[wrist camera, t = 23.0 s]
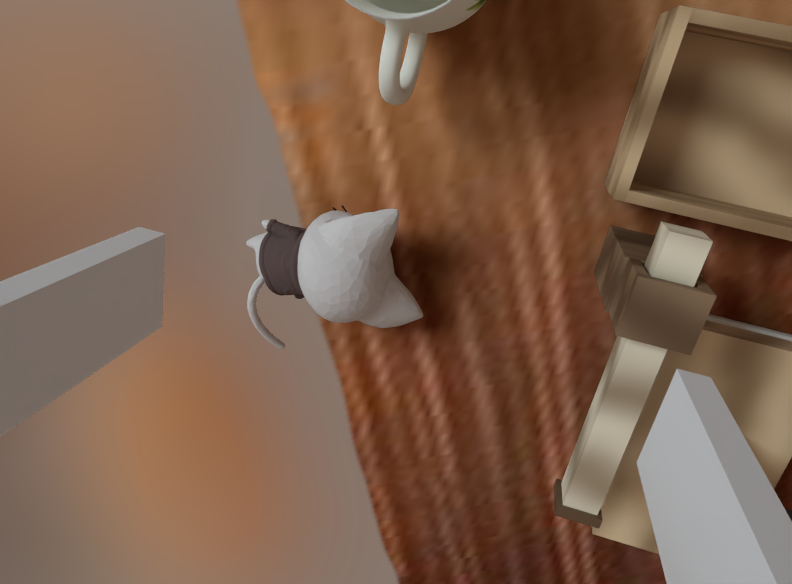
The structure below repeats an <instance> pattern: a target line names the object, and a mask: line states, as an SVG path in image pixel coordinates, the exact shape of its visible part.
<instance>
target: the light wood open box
mask: <svg viewBox="0 0 792 584" xmlns="http://www.w3.org/2000/svg"><path fill="white" fill-rule="evenodd" d="M604 185H605V187H606V188H607V190H608V192H609V194H610V195H611V197H612V199H614V200H619V201H623V202H627V203H631V204H636V205H640V206H644V207H648V208H653V209H657V210H661V211H665V212H670V213H674V214H678V215H682V216H687V217H691V218H695V219H699V220H704V221H708V222H712V223H716V224H721V225H725V226H729V227H733V228H738V229H742V230H746V231H750V232H755V233H759V234H763V235H767V236H772V237H776V238H780V239H784V240H789V241H792V26H787V25H782V24H776V23H771V22H766V21H760V20H755V19H750V18H745V17H739V16H734V15H729V14H723V13H718V12H713V11H708V10H702V9H697V8H692V7H686V6H681V5H679V6H677V7H674V8H672V9H670V10H668V11H666V12H664V13H661V14H660V16H659V19H658V22H657V25H656V28H655V31H654V34H653V37H652V40H651V43H650V46H649V49H648V52H647V55H646V58H645V61H644V64H643V67H642V70H641V73H640V76H639V79H638V82H637V85H636V88H635V91H634V94H633V97H632V100H631V103H630V106H629V109H628V112H627V115H626V118H625V121H624V124H623V127H622V130H621V133H620V136H619V139H618V142H617V145H616V148H615V151H614V154H613V157H612V160H611V163H610V166H609V169H608V172H607V175H606V178H605V181H604ZM654 239H655V236H652V235H648V234H644V233H640V232H636V231H632V230H627V229H623V228H619V227H615V226H611V225H610V228H609V231H608V234H607V237H606V239H605V242H604V245H603V248H602V251H601V254H600V257H599V260H598V262H597V265H596V268H595V271H594V274H595V277H596V281H597V284H598V288H599V291H600V295H601V298H602V302H603V305H604V309H605V311H606V312H609V314H610V317H611V321H612V324H613V327H614V331H615V334H616V336H619V337H623V338H626V339H630V340H634V341H638V342H641V343H645V344H649V345H653V346H657V347H660V348H664V349H668V350H672V351H675V352H679V353H683V354H687V355H690V356H691V354H692V351H693V349H694V347H695V345H696V342H697V340H698V338H699V336H700V333H701V331H702V329H703V326H704V324H705V322H706V320H707V317H708V315H709V313H710V311H711V308H712V306H713V304H714V302H715V299H716V297H717V296H716V294H715V293H714V292H713V291H712V289H711V288H710V287H709V286H708V284H707V283H706V282H705V281H704V279H703V277H704V275H703V274H702V273H701V272H700V274H699V276H698V279H697V281H696V283H695V286H694V287H691V286H687V285H683V284H679V283H675V282H671V281H667V280H664V279H660V278H656V277H652V276H648V274H647V272H646V270H645V268H644V265H645V263H646V260H647V257H648V255H649V252H650V249H651V247H652V244H653V242H654Z"/></svg>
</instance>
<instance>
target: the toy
mask: <svg viewBox="0 0 792 584" xmlns="http://www.w3.org/2000/svg"><path fill="white" fill-rule="evenodd" d="M342 208H343V209H344V210H345V212H344V211H338V210H336V209H335V208H334V207H333V209H334V210H335V211H330V212H327V213H324V214H322V215H320V216H319V217H318V218H316V219H315V220H314V221H313V222H312V223H311V224H310V226H309V227H308V228H307V229H302V228H299V227H293V226H289V225H286V224H283V223H280V222H277V221H276V220H263V221H262V225H263V227H264V228H265V229H267V231H268V232H266V233H264V234H261V235H257V236H255V237H253V238H251V239H250V240H248V241H247V242H246V244H247V246H250V247H252V248H253V249H255V252H256V265H257V269H258V273H259V275H260V276H259V278H258V279H257V280H256V281H255V282H254V283H253V285H252V287H251V289H250V291H249V295H248V303H247V306H248V312H249V316H250V318H251V320H252V322H253V324H254V326H255V327H256V328H257V330H258V331H259V332H260V334H261V335H262V336H263V337H264V338H265V339H267V340H268V341H269V342H270V343H271V344H273V345H274V346H276V347H277V348H279V349H284V347H285V344H284V343H283V342H282V341H280V340H279V339H277V338H276V337H275V336H274V335H273V334H271V333H270V332H269V330H268V329H266V327H265V326H264V325H263V323H262V322H261V320H260V318H259V316H258V314H257V309H256V297H257V294H258V292H259V289H260V288H261V287H262V285H263V284H264V282H265V283H266V285H267V286H268V288H269V289H270V290H271V291H272V292H274V293H275V294H278V295H292V296H293V297H295V298H298V299H301V298H303V297H305V298H306V300H307V301H308V303H309V304H310V306H311V307H312V308H313V309H314V310H315V311H316V313H317V314H319V315H320V316H321V317H322V318H324V319H327V320H329V321H331V322H337V323H347V322H352V321H356V320H358V321H360V322H362V323H364V324H366V325H370V326H374V327H378V328H389V327H397V326H401V325H404V324H407V323H410V322H412V321H415V320H418V319H420V318H422V317H423V313H422V311H421V309H420V307H419V305H418V303H417V301H416V300H415V298H414V297H413V295H412V294H411V292H410V291H409V290H408V289H407V288H406V287H405V286H404V284H403V283H402V282H401V281H400V280H399V279H398V278H397V276H396V275H395V272H394V266H393V259H392V254H391V250H390V248H391V246H392V243H393V240H394V237H395V233H396V230H397V225H398V219H399V213H398V209H385V210H379V211H376V212H368V213H363V214H359V215H354V214H351V213H349V212H347V211H346V209H345V208H344V206H343V205H342Z"/></svg>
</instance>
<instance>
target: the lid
mask: <svg viewBox="0 0 792 584" xmlns="http://www.w3.org/2000/svg"><path fill="white" fill-rule="evenodd" d="M676 369H681V370H685V371H688V372H692V373H696V374H700V375H704V376H707V377H711V379H712V380H713V382H714V384H715V386H716V387H717V389H718V391H719V393H720V395H721V396H722V398H723V400H724V402H725V403H726V405H727V407H728V409H729V411H730V412H731V414H732V416H733V418H734V420H735V421H736V423H737V425H738V427H739V428H740V430H741V432H742V434H743V436H744V437H745V439H746V441H747V443H748V444H749V446H750V448H751V450H752V452H753V453H754V455H755V457H756V459H757V460H758V462H759V464H760V466H761V468H762V469H763V471H764V473H765V475H766V477H767V478H768V480H769V482H770V484H771V485H772V487H773V489H774V488H775V486H776V485H777V483H778V481H779V479H780V477H781V475H782V474H783V472H784V470H785V468H786V466H787V465H788V463H789V461H790V459H791V457H792V341H790V340H786V339H782V338H778V337H773V336H769V335H765V334H761V333H757V332H753V331H749V330H745V329H741V328H737V327H733V326H729V325H725V324H721V323H717V322H713V321H709V320H706V322H705V324H704V326H703V329H702V331H701V333H700V336H699V338H698V340H697V342H696V345H695V347H694V349H693V351H692V354H691V356H690V355H687V354H683V353H679V352H675V351H672V350H667V352H666V354H665V357H664V359H663V361H662V364H661V366H660V369H659V371H658V373H657V376H656V378H655V380H654V383H653V385H652V387H651V390H650V392H649V395H648V397H647V399H646V402H645V404H644V406H643V409H642V411H641V413H640V416H639V418H638V421H637V423H636V425H635V428H634V430H633V432H632V435H631V437H630V439H629V442H628V444H627V447H626V449H625V451H624V454H623V456H622V458H621V461H620V463H619V465H618V468H617V470H616V473H615V475H614V477H613V480H612V482H611V484H610V487H609V489H608V491H607V494H606V496H605V499H604V501H603V503H602V506H601V512H602V519H603V521H602V523H601V526H600V528H599V529H598V528H595V527H592V533H593V534H595V535H598V536H601V537H604V538H608V539H611V540H614V541H618V542H621V543H624V544H627V545H631V546H634V547H637V548H641V549H644V550H647V551H650V552H654V553H657V554H659V550H658V546H657V542H656V538H655V534H654V530H653V526H652V522H651V518H650V515H649V511H648V507H647V503H646V499H645V495H644V491H643V487H642V483H641V479H640V475H639V471H638V467H637V460H638V458H639V456H640V453H641V451H642V449H643V446H644V444H645V442H646V439H647V437H648V435H649V432H650V430H651V428H652V425H653V423H654V421H655V418H656V416H657V414H658V411H659V409H660V407H661V404H662V402H663V400H664V397H665V395H666V393H667V390H668V388H669V386H670V383H671V381H672V379H673V376H674V374H675V372H676Z"/></svg>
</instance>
